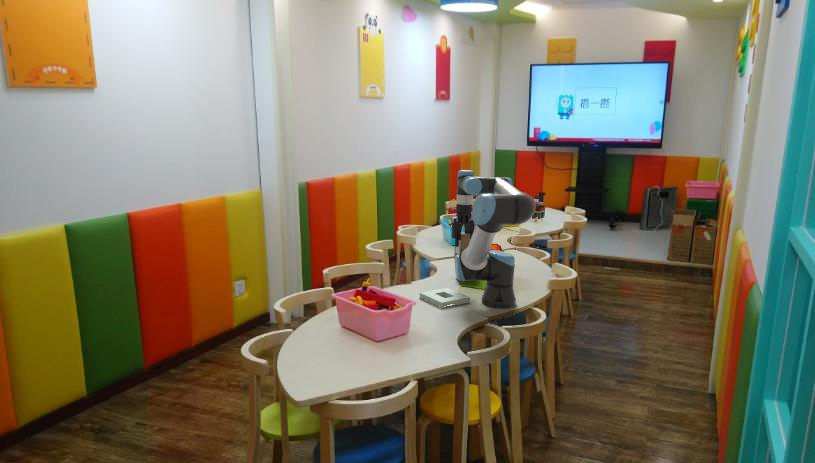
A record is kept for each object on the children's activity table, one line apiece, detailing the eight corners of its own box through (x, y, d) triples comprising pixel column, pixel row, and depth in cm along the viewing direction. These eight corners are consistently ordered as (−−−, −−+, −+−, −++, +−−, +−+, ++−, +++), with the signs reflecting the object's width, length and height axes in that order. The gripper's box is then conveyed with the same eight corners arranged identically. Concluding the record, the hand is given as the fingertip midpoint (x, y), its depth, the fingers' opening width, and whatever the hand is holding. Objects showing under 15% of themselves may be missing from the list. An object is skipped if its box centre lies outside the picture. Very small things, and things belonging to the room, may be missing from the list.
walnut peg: (468, 261, 270) (470, 234, 268) (462, 262, 268) (463, 234, 266) (460, 258, 275) (462, 231, 273) (454, 259, 273) (455, 232, 271)
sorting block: (469, 302, 257) (469, 297, 257) (441, 308, 248) (441, 302, 248) (447, 292, 270) (447, 287, 269) (419, 298, 261) (419, 292, 260)
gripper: (473, 201, 274) (470, 249, 279) (444, 203, 265) (442, 252, 269) (483, 203, 268) (480, 252, 273) (454, 205, 259) (452, 256, 263)
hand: (461, 252), depth 271 cm, fingers closed on walnut peg, 4 cm apart
